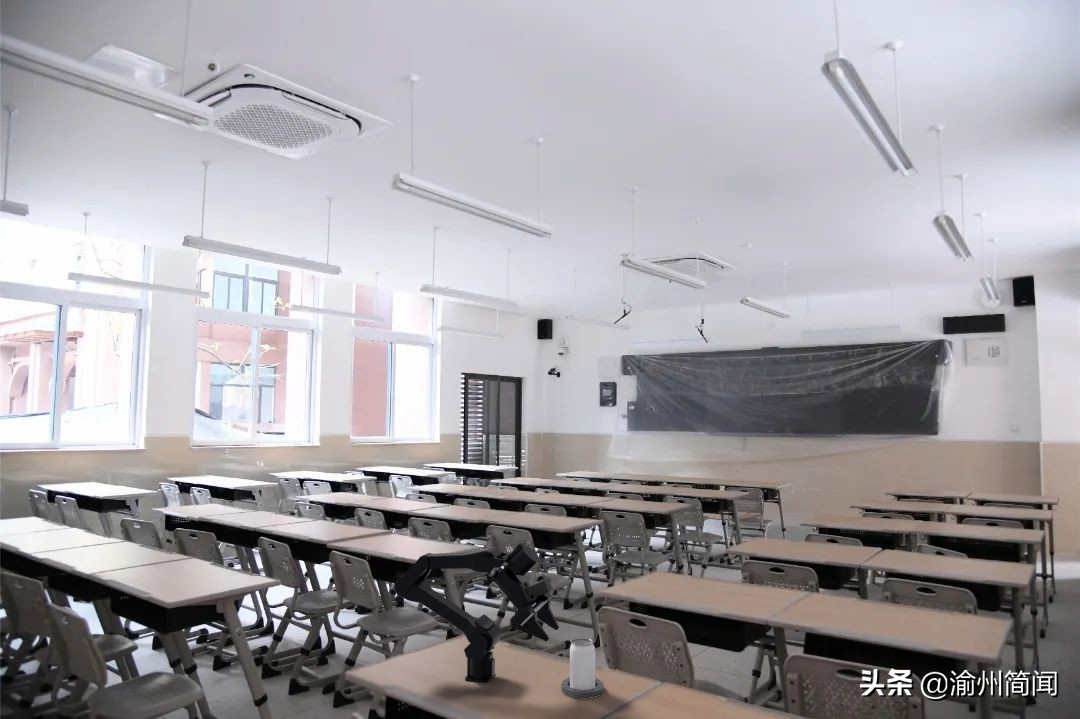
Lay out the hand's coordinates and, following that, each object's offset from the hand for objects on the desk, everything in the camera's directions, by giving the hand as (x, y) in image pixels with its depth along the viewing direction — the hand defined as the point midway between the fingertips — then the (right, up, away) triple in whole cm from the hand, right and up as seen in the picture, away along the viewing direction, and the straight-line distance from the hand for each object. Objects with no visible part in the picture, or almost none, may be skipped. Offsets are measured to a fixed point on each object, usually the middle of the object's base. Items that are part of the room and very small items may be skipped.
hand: (552, 634), depth 179 cm
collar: (+7, -13, -3) cm, 15 cm away
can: (+7, -13, -3) cm, 15 cm away
